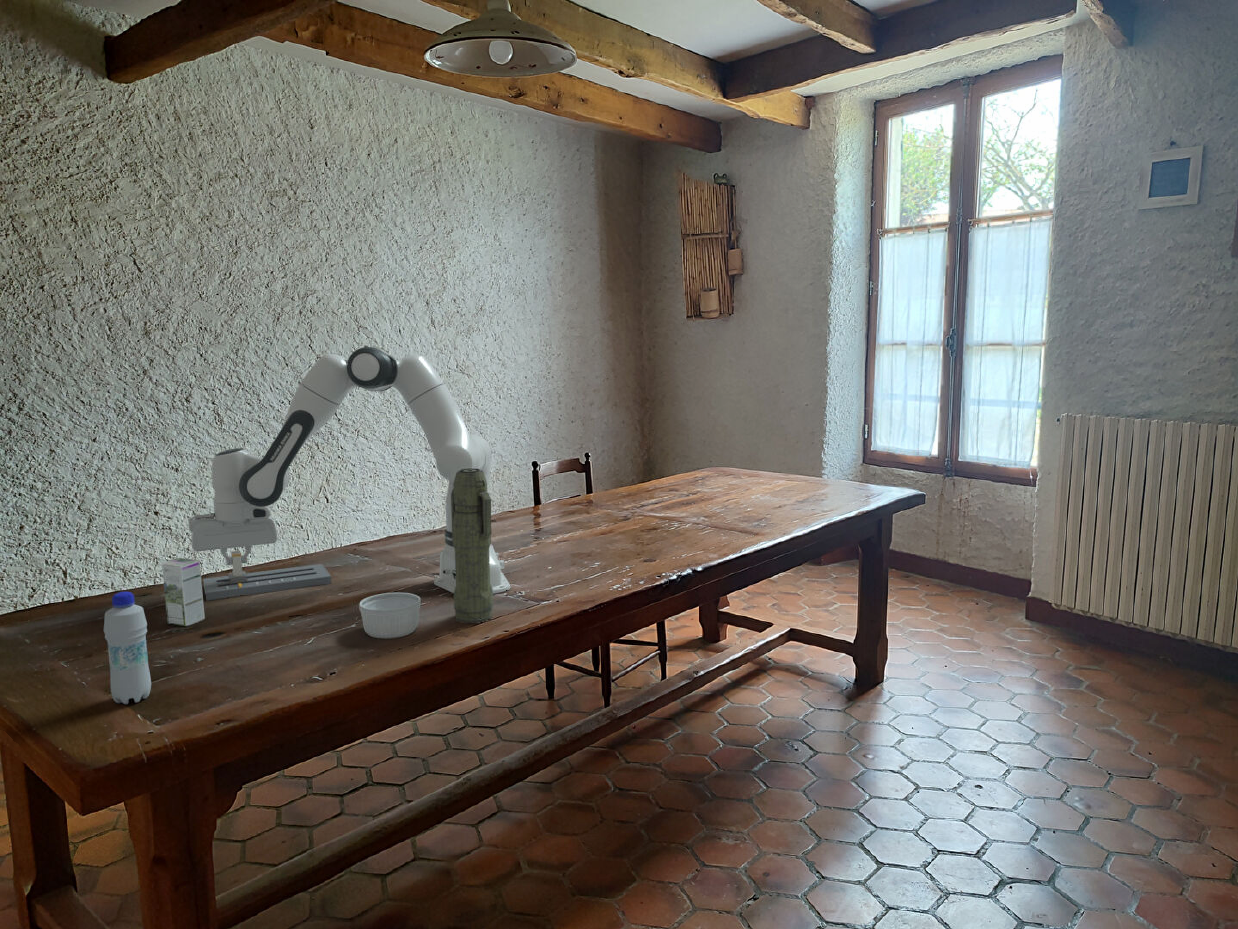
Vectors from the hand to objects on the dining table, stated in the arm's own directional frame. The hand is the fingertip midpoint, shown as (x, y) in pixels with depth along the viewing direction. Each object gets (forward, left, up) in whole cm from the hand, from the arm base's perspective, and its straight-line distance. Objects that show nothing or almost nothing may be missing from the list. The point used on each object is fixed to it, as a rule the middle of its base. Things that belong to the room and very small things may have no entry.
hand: (236, 563), depth 215 cm
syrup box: (-22, +13, -7) cm, 27 cm away
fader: (0, 0, -4) cm, 4 cm away
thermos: (-52, -46, -7) cm, 70 cm away
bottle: (-64, +23, -7) cm, 68 cm away
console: (0, -7, -7) cm, 10 cm away
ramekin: (-51, -27, -7) cm, 58 cm away
